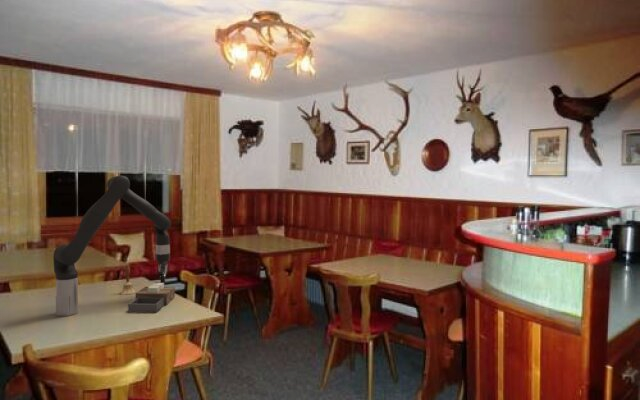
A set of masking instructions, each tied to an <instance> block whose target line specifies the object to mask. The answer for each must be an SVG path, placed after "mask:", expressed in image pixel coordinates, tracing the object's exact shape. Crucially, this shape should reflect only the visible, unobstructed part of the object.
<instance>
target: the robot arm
mask: <svg viewBox="0 0 640 400" xmlns="http://www.w3.org/2000/svg"><path fill="white" fill-rule="evenodd" d="M130 186H131V182H130V180H129V178H128V177H127V176H125V175H116V176H112V177H111V178H109V179H108V180H107V182H106V187H107V189H106V192H105V193H104V194H103V195H102V196H101V197H100V198H99V199H98V200H96V202H94V203H93V204H92V206H90V207H89V209H88V210H87V211H86V213H85V214H84V215H83V216H82V218H81V220H80V223H79V225H78V229H77V232H76V233H75V235H74V237H73V238H72V240H70V242H68V244H65V243H64V244H59V245H58V246H57V247H56V248H55V250H54V252H53V272H54V274H55V295H56V296H55V316H59V317H69V316H72V315H75V314H77V313H79V276H78V275H79V272H78V271H77V269H76V266H75V264H76V263H77V262H78V261H79V260H80V258H81V257H82V255H83V253H84V252H85V249H86V248H87V246H88V245H89V243H90V241H91V240H92V239H93V238H94V237H95V235H96V234H97V232H98V230H99V229H100V228H101V227H102V225H103V223H104V222H105V221H106V220H107V218H108V216H109V215H110V214H111V212H112V211H113V209H114V208H115V206H116V205H117V203H118V202H119V200H121V199H122V200H124V202H126V203H127V204H129V205H130V206H131V207H133V208H134V209H135V210H136V211H138V212H139V213H140V214H141V215H142V216H144V217H145V218H146V219H147V220H149V221H150V222H152V223H154V224H153V225H154V231H155V262H158V265H157V267H158V268H156V271H157V274H158V275H157V276H158V277H160V283H164V284H165V283H166V276H167V274H168V269H169V264H168V262H170V260H171V246H170V235H169V233H168V229H170V228H171V226H172V222H171V219H170V218H169V217H167V215H165V214H164V213H162V212H160V211H159V210H158V209H157V208H156V207H155V206H154V205H153V204H151V203H150V202H149V201H148V200H147V199H144V198H142V196H140V195H138V194H137V193H135V192H134V191H132V190H131V189H130Z"/></svg>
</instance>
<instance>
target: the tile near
mask: <svg viewBox="0 0 640 400" xmlns="http://www.w3.org/2000/svg"><path fill="white" fill-rule="evenodd" d="M147 287H148V293H158V292H159V291H160V286H152V285H150V286H147Z"/></svg>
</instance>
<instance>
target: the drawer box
mask: <svg viewBox="0 0 640 400" xmlns="http://www.w3.org/2000/svg"><path fill="white" fill-rule="evenodd" d="M148 287H149V286H144V287H143V288H141V289H140V290H138V291H136V293H135V299H136V298H137V297H140V298H165V306H168V305H169V304H170V303H171V302H172V301H173V300H174V299H176V298H175V297H176V295H175V294H176V290H175V289H176V288H175V286H164V288H163V289H161V290H160V291H159V292H158V293H148Z"/></svg>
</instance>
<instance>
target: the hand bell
mask: <svg viewBox="0 0 640 400" xmlns="http://www.w3.org/2000/svg"><path fill="white" fill-rule="evenodd" d="M124 274H125V277H126V278H125V281H126V282H125V283H123V286H122V290H121V291H120V292H119V294H120V295H122V296H128V295H129V296H130V295H135V294H136V293H137V291H136V290H135V289H134V288H133V283H132V282H130V274H131V268H130V265H129V264H126V265H125V268H124Z"/></svg>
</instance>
